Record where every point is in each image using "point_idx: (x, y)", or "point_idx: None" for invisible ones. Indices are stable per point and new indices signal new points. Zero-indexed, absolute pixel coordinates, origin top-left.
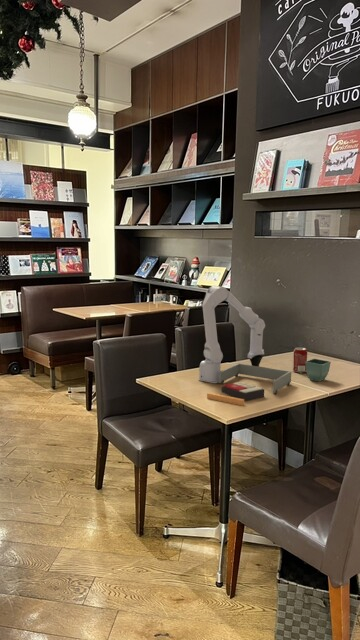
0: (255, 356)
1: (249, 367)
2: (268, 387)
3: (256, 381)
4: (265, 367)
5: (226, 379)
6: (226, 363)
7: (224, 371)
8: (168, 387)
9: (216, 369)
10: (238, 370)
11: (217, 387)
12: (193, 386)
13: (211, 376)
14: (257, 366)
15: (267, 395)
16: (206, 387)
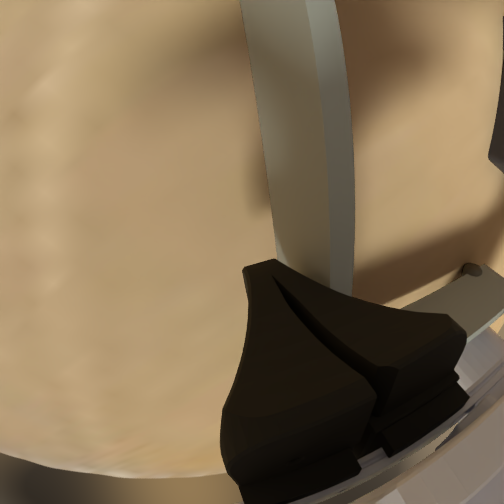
0: (453, 398)
1: None
2: (415, 11)
3: None
4: (325, 125)
5: (449, 285)
6: (131, 477)
7: (499, 305)
8: (499, 321)
9: (497, 334)
10: None
11: (496, 241)
12: None
13: None
14: (345, 261)
15: (490, 4)
16: (498, 266)
